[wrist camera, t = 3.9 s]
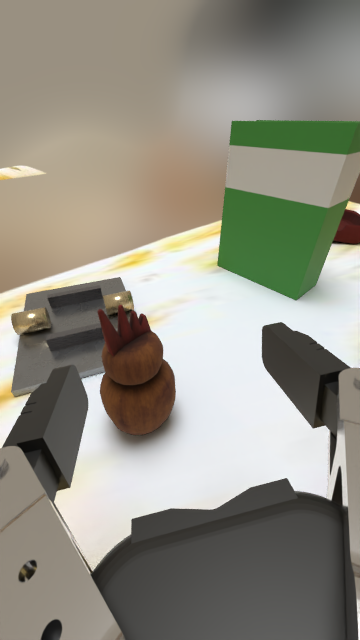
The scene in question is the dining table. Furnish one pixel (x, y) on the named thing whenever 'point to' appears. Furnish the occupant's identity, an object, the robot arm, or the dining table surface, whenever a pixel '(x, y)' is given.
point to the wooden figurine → (135, 375)
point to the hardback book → (286, 199)
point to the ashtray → (348, 228)
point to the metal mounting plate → (65, 330)
